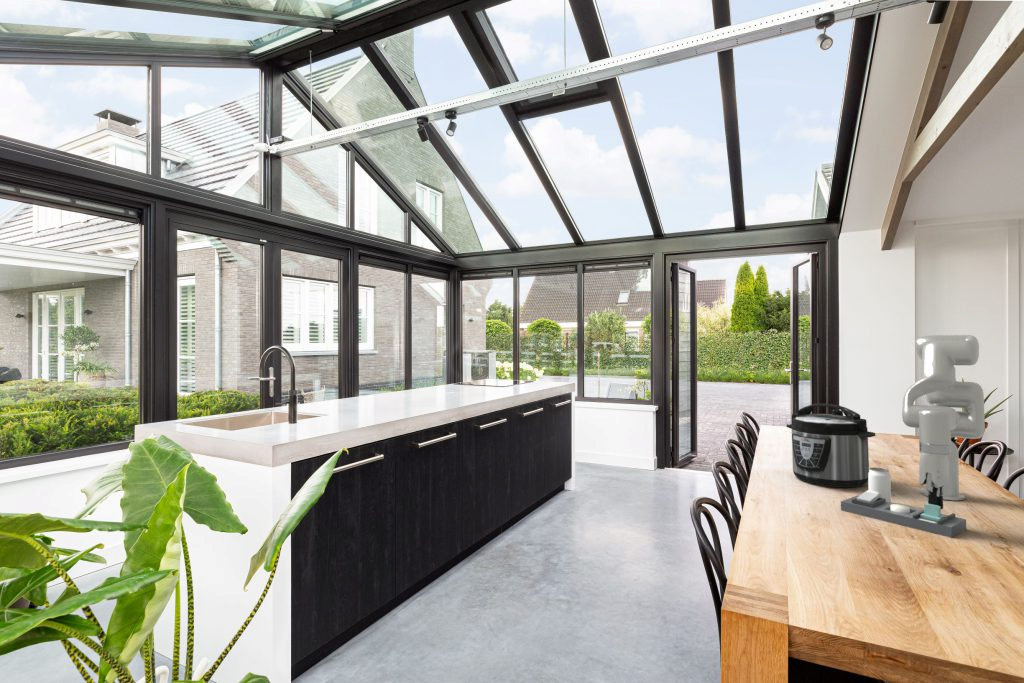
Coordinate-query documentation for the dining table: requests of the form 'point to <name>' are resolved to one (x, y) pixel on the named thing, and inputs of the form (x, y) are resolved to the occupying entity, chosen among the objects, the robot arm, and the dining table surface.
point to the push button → (900, 508)
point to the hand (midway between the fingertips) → (935, 508)
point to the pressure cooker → (830, 447)
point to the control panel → (905, 516)
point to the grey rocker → (869, 496)
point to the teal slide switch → (932, 512)
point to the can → (880, 482)
